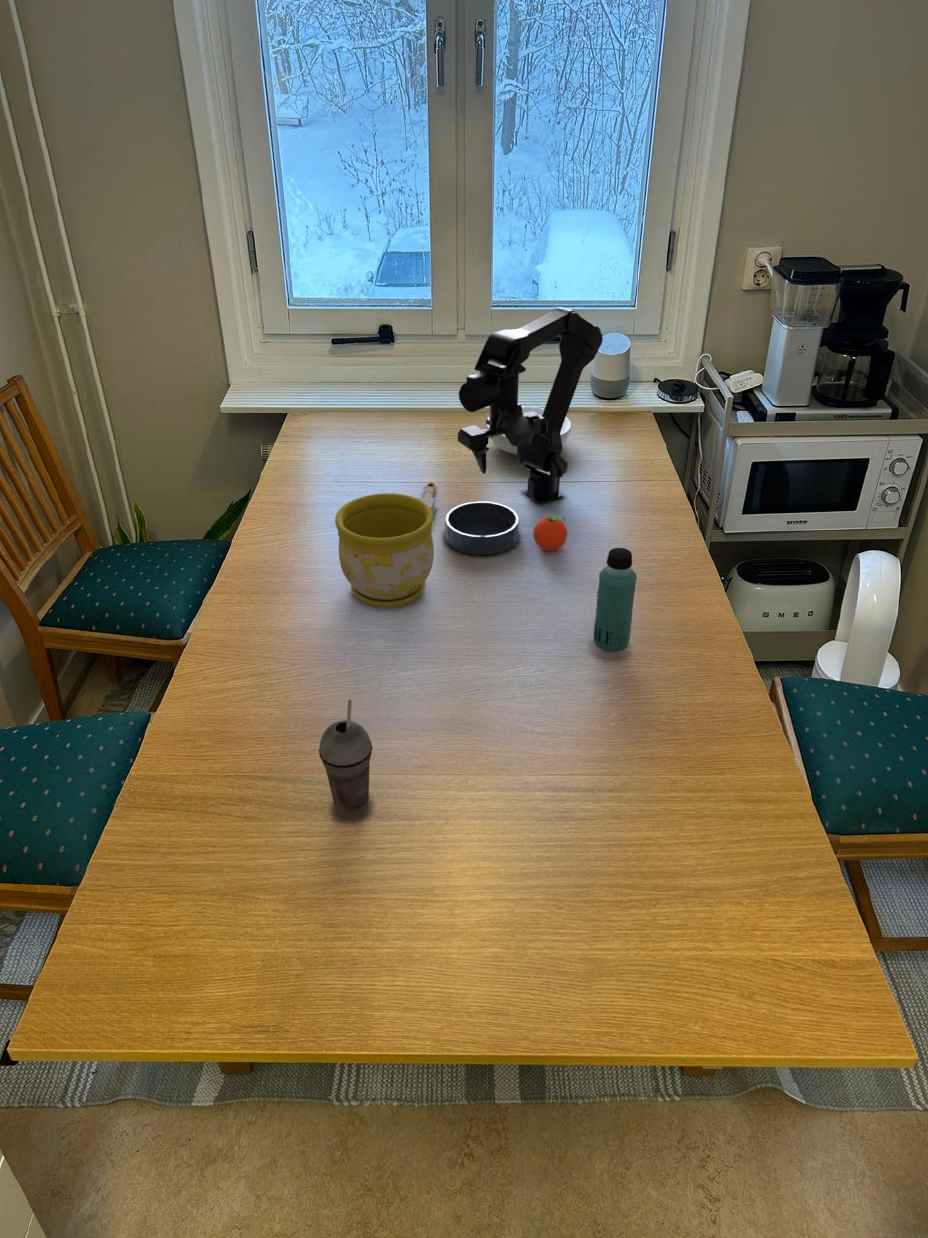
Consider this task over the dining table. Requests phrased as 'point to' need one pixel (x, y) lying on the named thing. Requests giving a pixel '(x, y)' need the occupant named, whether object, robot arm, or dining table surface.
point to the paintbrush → (429, 496)
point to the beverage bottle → (615, 602)
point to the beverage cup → (347, 765)
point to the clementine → (550, 533)
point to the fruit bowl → (481, 528)
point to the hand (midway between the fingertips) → (502, 467)
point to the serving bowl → (506, 446)
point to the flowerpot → (386, 547)
